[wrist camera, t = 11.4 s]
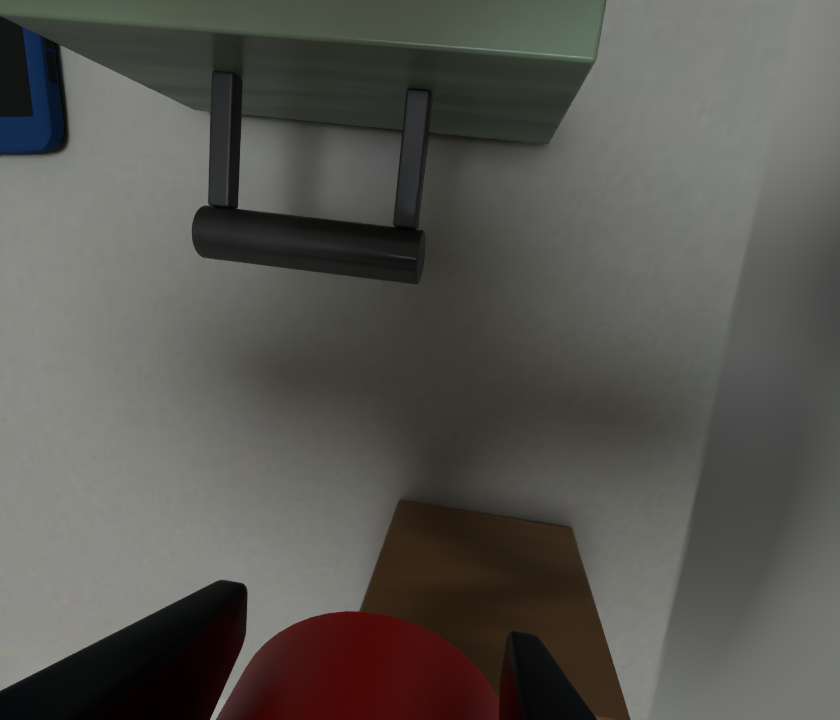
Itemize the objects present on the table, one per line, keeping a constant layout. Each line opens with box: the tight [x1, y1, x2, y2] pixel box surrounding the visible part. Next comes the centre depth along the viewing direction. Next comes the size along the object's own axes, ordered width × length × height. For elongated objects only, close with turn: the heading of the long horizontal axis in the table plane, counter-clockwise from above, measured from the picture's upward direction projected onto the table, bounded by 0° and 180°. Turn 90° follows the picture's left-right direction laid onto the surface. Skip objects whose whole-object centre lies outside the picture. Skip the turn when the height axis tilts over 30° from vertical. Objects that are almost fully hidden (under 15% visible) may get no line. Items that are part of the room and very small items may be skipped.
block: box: [359, 500, 630, 720], centre depth 18 cm, size 7×7×9 cm
